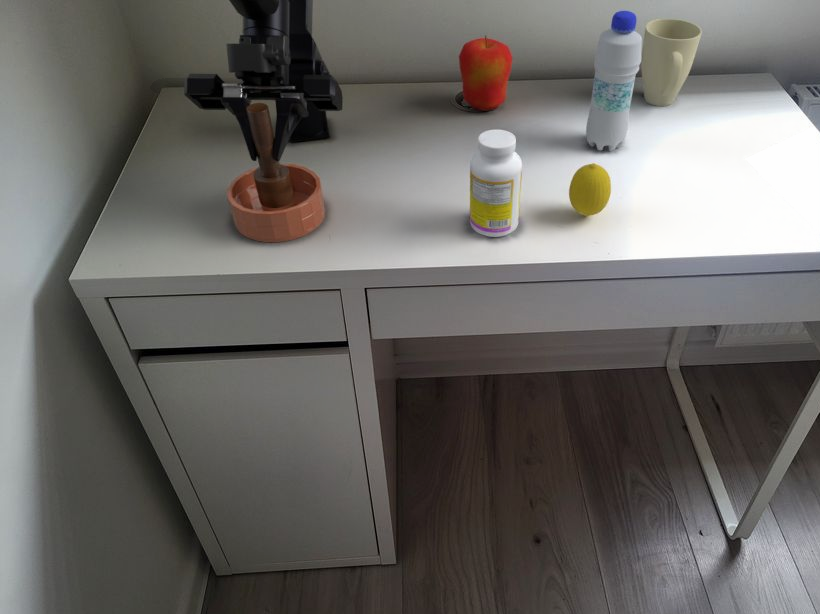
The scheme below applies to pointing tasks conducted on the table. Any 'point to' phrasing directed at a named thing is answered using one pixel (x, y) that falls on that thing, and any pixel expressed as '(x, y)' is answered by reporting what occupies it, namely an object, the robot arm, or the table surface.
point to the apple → (485, 72)
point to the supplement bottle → (495, 184)
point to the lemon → (590, 189)
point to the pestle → (268, 161)
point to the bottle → (614, 82)
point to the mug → (667, 58)
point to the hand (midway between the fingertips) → (265, 160)
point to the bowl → (277, 221)
